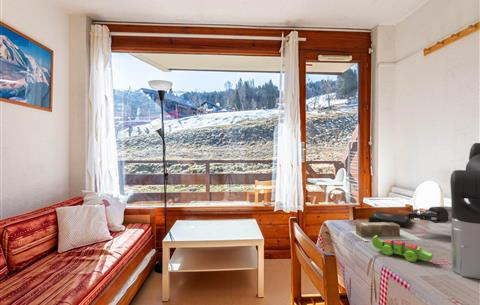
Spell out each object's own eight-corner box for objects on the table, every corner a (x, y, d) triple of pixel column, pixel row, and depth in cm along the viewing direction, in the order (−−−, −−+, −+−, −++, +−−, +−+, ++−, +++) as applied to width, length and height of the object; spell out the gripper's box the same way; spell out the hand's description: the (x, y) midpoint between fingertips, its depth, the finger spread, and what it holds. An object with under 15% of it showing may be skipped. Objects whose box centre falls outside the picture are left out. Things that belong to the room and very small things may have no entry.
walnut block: (392, 221, 124) (355, 222, 123) (399, 224, 119) (361, 225, 118) (392, 232, 124) (355, 233, 123) (399, 236, 119) (361, 237, 118)
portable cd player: (376, 217, 155) (376, 210, 155) (410, 222, 144) (410, 215, 144) (368, 223, 142) (368, 216, 142) (405, 230, 131) (405, 222, 131)
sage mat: (401, 230, 129) (401, 229, 129) (422, 240, 115) (422, 239, 115) (349, 231, 128) (349, 230, 128) (364, 241, 114) (364, 240, 114)
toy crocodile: (434, 261, 94) (435, 245, 94) (430, 267, 89) (430, 250, 89) (376, 247, 108) (376, 232, 108) (370, 251, 103) (370, 236, 103)
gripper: (431, 203, 130) (397, 204, 129) (455, 210, 116) (417, 211, 115) (431, 218, 130) (397, 219, 129) (455, 226, 117) (417, 228, 116)
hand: (407, 215), depth 122 cm, fingers closed
